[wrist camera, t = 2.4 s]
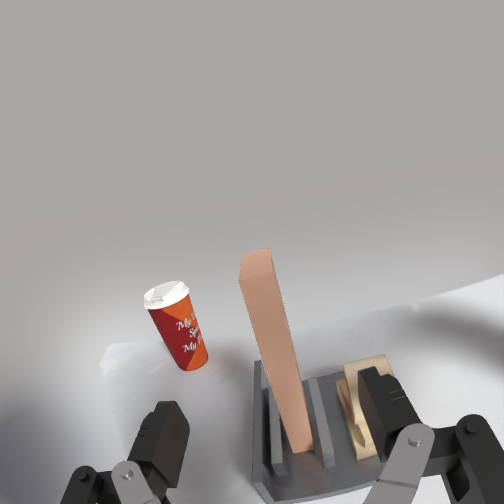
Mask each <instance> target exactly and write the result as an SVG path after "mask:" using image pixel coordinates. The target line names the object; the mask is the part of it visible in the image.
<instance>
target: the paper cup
mask: <svg viewBox="0 0 504 504" xmlns="http://www.w3.org/2000/svg"><path fill="white" fill-rule="evenodd" d="M188 293H189V289H188V287H186V286H185V284H184V283H183V282H182V281H171V282H167V283H164V284H161V285H158V286H156V287H155V288H152V289H151V290H149V291H148V292H147V293H146V294H145V295H144V307H145V308H146V309H148V311H149V313H150V315H151V317H152V319H153V321H154V323H155V325H156V327H157V329H158V331H159V332H160V334H161V336H162V338H163V340H164V342H165V344H166V346H167V347H168V349H169V351H170V353H171V355H172V356H173V358H174V360H175V361H176V363H177V365H178V366H179V368H180V369H182V370H184V371H191V370H195V369H198V368H200V367H202V366H203V365H204V364H205V363H206V362H207V360H208V354H207V351H206V348H205V345H204V342H203V338H202V336H201V332H200V329H199V326H198V323H197V320H196V317H195V314H194V310H193V307H192V304H191V301H190V297H189V294H188Z"/></svg>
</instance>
